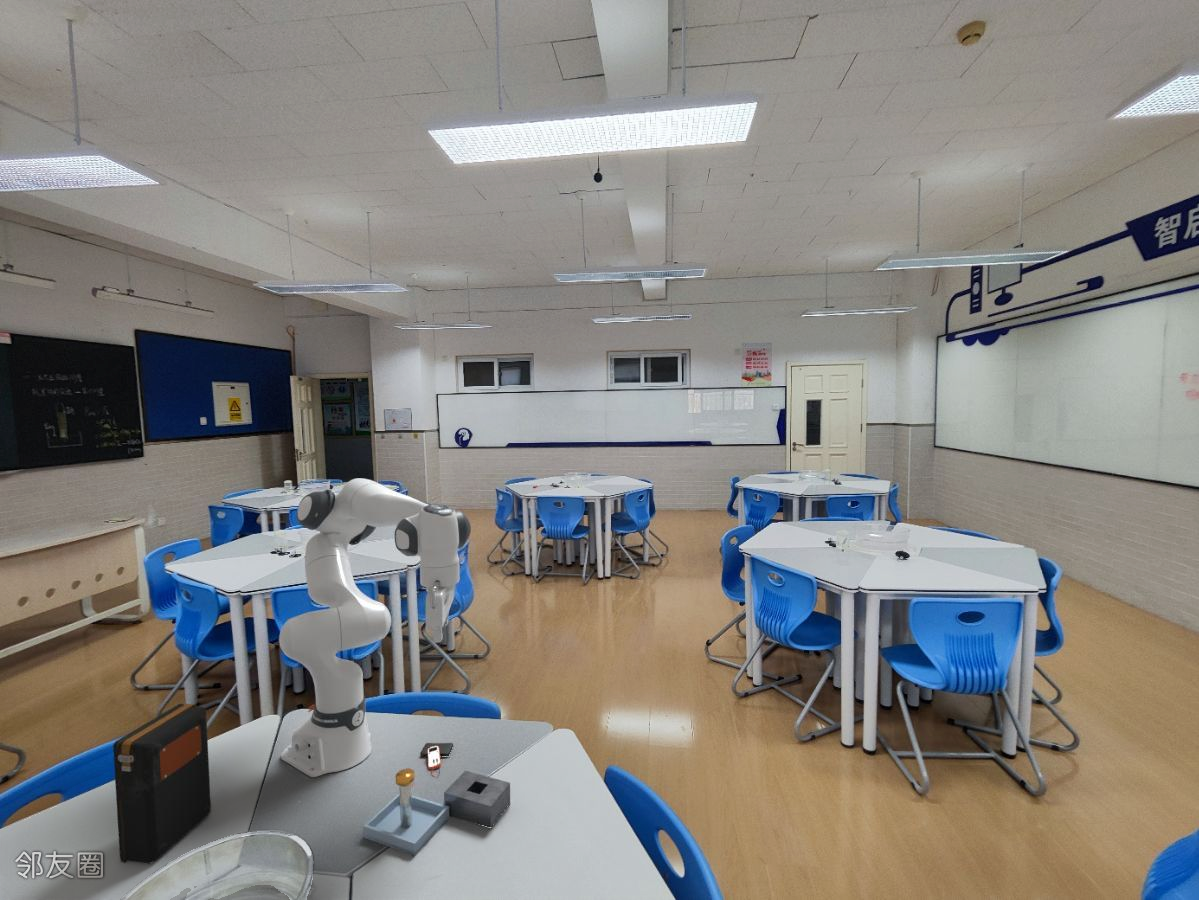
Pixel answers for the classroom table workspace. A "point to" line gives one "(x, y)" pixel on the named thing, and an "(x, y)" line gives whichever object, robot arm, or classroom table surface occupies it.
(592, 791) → the classroom table surface
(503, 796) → the block
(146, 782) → the black case
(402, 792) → the pin
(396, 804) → the tray
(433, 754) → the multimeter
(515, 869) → the classroom table surface
